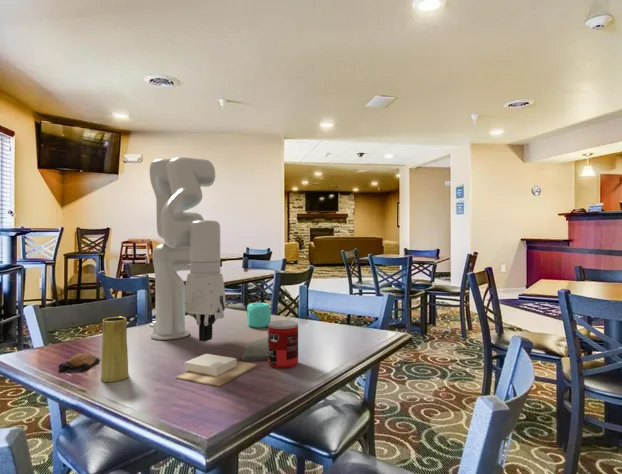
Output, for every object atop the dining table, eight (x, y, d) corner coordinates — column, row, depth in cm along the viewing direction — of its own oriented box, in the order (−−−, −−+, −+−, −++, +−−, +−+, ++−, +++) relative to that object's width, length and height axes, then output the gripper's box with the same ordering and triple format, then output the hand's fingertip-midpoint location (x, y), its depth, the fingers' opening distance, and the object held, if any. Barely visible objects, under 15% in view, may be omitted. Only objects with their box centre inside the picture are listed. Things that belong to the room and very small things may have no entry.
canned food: (268, 360, 109) (268, 320, 109) (297, 359, 110) (297, 319, 110) (267, 369, 101) (267, 326, 101) (299, 368, 102) (298, 326, 102)
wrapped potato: (72, 362, 109) (72, 349, 109) (104, 361, 110) (104, 348, 110) (51, 375, 99) (51, 361, 99) (87, 374, 100) (87, 359, 100)
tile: (184, 362, 99) (216, 367, 95) (205, 353, 106) (236, 358, 102) (184, 370, 99) (216, 376, 95) (205, 361, 106) (236, 366, 102)
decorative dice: (267, 322, 156) (267, 302, 156) (270, 326, 148) (270, 305, 148) (247, 323, 154) (246, 303, 154) (249, 328, 146) (249, 306, 146)
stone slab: (240, 366, 108) (276, 361, 109) (239, 356, 108) (275, 351, 109) (248, 345, 131) (278, 340, 131) (247, 336, 131) (277, 332, 131)
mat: (175, 378, 95) (175, 376, 95) (218, 359, 110) (218, 357, 110) (218, 386, 90) (218, 385, 90) (257, 365, 104) (257, 364, 104)
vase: (110, 384, 91) (109, 322, 91) (95, 379, 95) (95, 319, 95) (134, 376, 97) (133, 318, 96) (119, 371, 100) (119, 315, 100)
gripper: (172, 268, 101) (172, 340, 101) (219, 270, 95) (219, 347, 95) (193, 266, 108) (193, 333, 108) (238, 268, 101) (238, 339, 102)
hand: (205, 339), depth 101 cm, fingers closed
